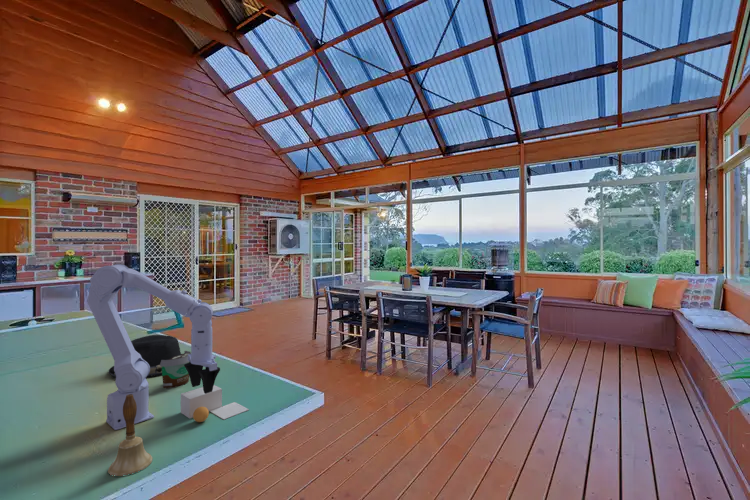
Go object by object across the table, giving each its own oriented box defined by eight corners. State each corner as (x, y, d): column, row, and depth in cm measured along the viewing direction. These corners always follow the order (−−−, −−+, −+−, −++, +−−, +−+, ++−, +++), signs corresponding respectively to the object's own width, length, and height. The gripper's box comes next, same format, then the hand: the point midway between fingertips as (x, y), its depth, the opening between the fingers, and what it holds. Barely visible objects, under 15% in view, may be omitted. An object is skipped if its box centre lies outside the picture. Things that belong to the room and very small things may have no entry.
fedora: (105, 368, 144) (105, 337, 144) (181, 355, 162) (181, 327, 162) (112, 386, 126) (112, 350, 126) (196, 369, 144) (197, 338, 144)
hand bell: (128, 480, 76) (128, 404, 75) (98, 473, 78) (98, 399, 78) (161, 458, 84) (161, 389, 83) (133, 452, 86) (133, 385, 86)
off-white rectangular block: (189, 418, 103) (189, 399, 102) (180, 412, 106) (180, 393, 106) (221, 407, 110) (221, 388, 110) (212, 401, 114) (212, 384, 114)
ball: (197, 426, 98) (197, 411, 98) (190, 421, 101) (190, 407, 101) (211, 420, 101) (211, 406, 101) (204, 416, 104) (204, 402, 104)
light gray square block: (223, 419, 102) (223, 419, 102) (209, 411, 107) (209, 410, 107) (249, 410, 108) (249, 409, 108) (234, 402, 113) (234, 401, 113)
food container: (175, 391, 122) (175, 361, 122) (159, 389, 123) (159, 360, 123) (200, 378, 134) (200, 351, 134) (185, 376, 135) (185, 350, 135)
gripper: (227, 345, 106) (227, 391, 107) (203, 337, 116) (203, 379, 116) (203, 350, 101) (203, 398, 101) (180, 341, 110) (180, 386, 110)
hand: (202, 389), depth 108 cm, fingers open, 7 cm apart
